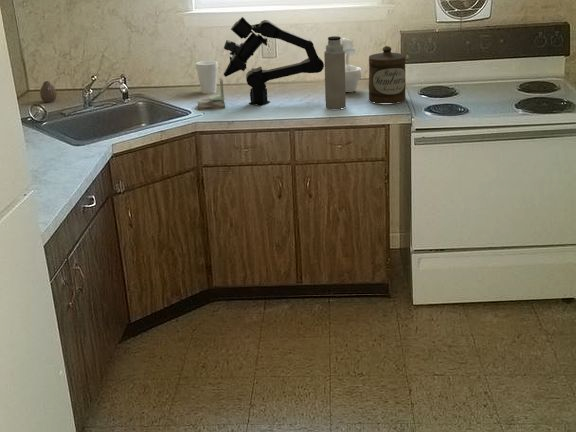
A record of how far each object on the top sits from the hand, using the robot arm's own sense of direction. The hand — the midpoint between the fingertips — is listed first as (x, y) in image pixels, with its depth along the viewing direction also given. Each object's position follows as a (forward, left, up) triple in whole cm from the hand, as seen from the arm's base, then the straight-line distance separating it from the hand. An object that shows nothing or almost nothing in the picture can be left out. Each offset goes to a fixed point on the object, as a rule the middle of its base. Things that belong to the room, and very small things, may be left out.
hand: (224, 75), depth 327 cm
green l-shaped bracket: (+3, +2, -9) cm, 10 cm away
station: (+5, +4, -13) cm, 14 cm away
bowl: (+7, +6, -13) cm, 15 cm away
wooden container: (-55, -36, -13) cm, 67 cm away
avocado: (+77, +28, -13) cm, 83 cm away
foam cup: (+23, -16, -13) cm, 31 cm away
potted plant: (-33, -42, -13) cm, 55 cm away
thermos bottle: (-42, -17, -13) cm, 47 cm away
